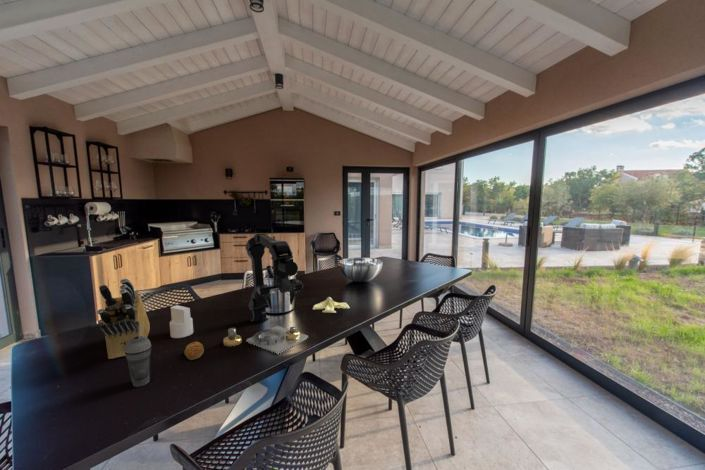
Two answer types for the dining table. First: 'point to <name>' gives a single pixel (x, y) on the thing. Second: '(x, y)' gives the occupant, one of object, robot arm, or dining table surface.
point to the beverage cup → (139, 359)
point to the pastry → (194, 350)
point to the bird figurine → (330, 305)
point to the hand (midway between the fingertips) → (280, 306)
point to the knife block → (122, 318)
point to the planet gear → (232, 338)
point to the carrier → (277, 339)
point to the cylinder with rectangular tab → (180, 322)
